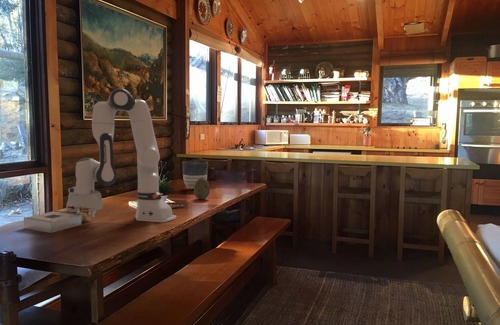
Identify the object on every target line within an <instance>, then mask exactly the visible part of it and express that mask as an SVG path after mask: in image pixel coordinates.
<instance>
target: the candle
mask: <svg viewBox="0 0 500 325" xmlns="http://www.w3.org/2000/svg"><path fill="white" fill-rule="evenodd" d="M65 206H66V212H67V211H68V212H69V213H76V210H75V206H70V205H69V203H68V200H67V201H66V205H65ZM79 210H80V211H81V207H80V208H79Z"/></svg>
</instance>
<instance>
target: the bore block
mask: <svg viewBox="0 0 500 325" xmlns="http://www.w3.org/2000/svg"><path fill="white" fill-rule="evenodd" d="M81 225H82V222H81V214H76V213H70V212H67V211H60V210H53V211H49V212H44V213H41V214H36V215H32V216H31V215H30V216H27V217H26V216H24V217H23V229H25V230H32V231H38V232H43V233H48V234H52V233H56V232H59V231H64V230H66V229H70V228H73V227H74V228H76V227H78V226H81Z"/></svg>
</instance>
